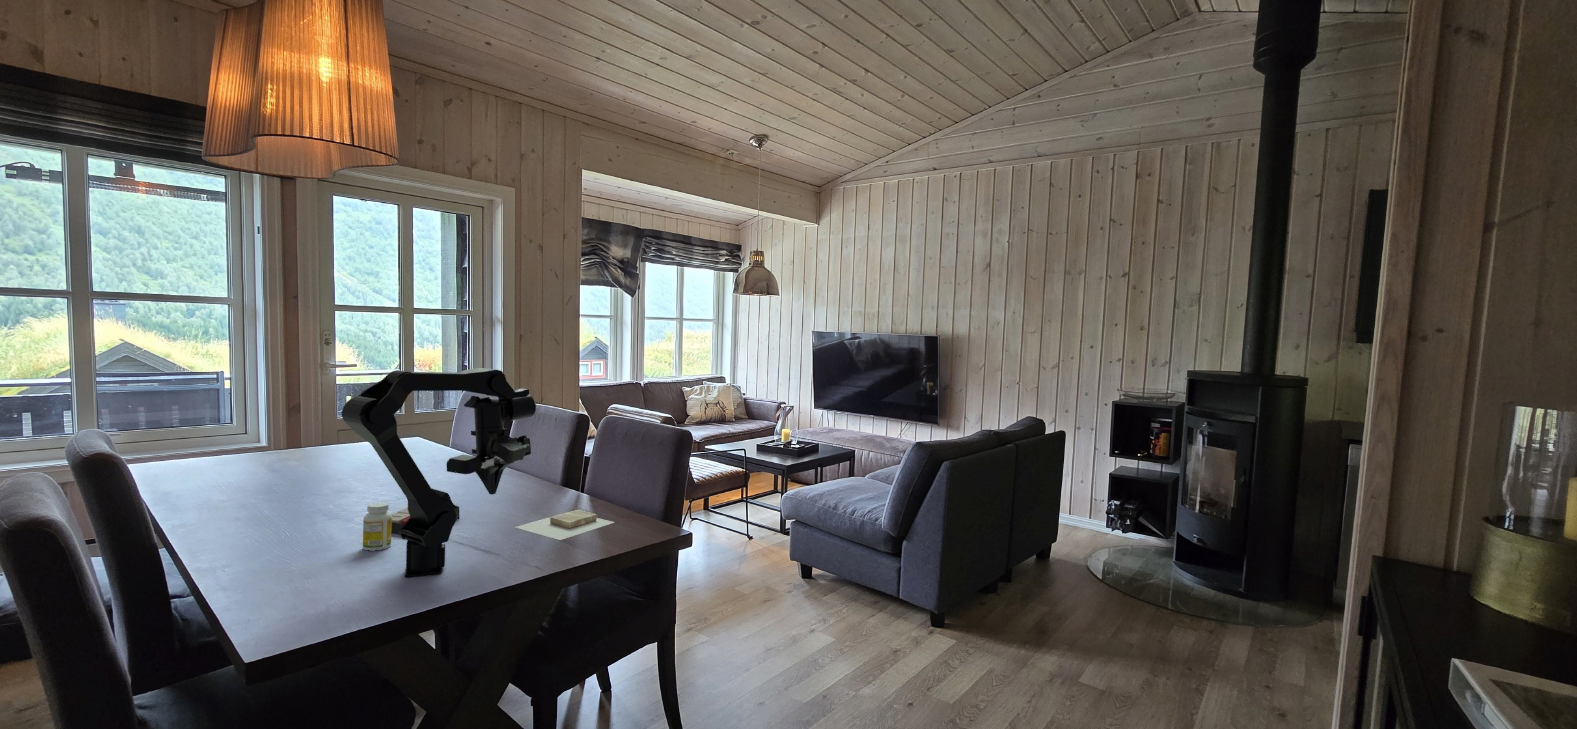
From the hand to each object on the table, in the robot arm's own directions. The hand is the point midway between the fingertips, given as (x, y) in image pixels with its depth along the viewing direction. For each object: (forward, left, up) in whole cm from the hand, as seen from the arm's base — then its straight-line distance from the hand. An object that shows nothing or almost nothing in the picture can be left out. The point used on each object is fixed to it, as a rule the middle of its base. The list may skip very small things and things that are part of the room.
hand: (492, 494), depth 147 cm
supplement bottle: (-23, +10, -13) cm, 28 cm away
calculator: (-15, +24, -13) cm, 32 cm away
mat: (+18, +13, -13) cm, 25 cm away
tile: (+16, +12, -11) cm, 23 cm away
